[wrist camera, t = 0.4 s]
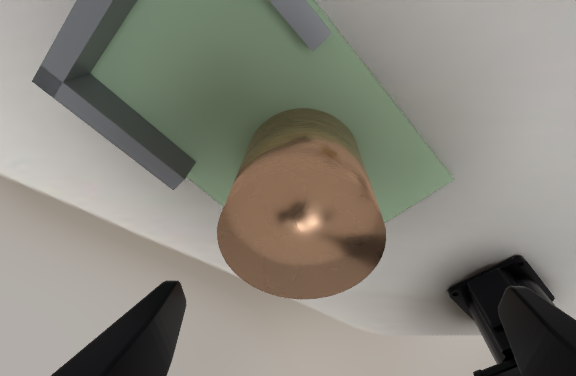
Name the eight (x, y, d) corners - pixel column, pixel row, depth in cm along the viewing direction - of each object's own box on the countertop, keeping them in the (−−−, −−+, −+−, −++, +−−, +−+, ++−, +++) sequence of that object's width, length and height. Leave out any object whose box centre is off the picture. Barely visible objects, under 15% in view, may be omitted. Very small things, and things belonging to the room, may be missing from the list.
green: (451, 175, 21) (454, 179, 21) (305, 267, 27) (305, 272, 26) (200, -145, 14) (195, -151, 13) (66, 73, 19) (60, 75, 19)
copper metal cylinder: (382, 167, 21) (419, 249, 14) (299, 226, 24) (296, 318, 17) (306, 81, 18) (306, 131, 11) (223, 160, 21) (183, 237, 14)
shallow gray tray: (328, 28, 16) (331, 33, 14) (186, 172, 22) (173, 190, 20) (191, -144, 13) (170, -170, 11) (62, 72, 18) (31, 81, 16)
